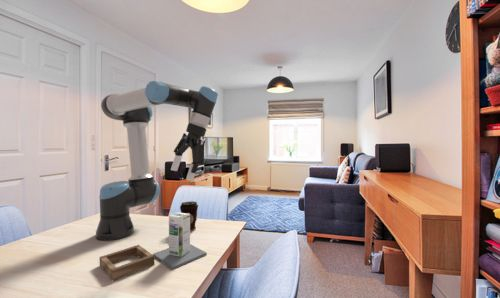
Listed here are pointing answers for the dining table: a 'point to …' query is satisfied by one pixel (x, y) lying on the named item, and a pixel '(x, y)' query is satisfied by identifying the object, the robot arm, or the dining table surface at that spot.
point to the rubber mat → (179, 261)
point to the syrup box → (179, 234)
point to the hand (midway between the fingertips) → (181, 175)
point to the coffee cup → (190, 212)
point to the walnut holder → (128, 268)
